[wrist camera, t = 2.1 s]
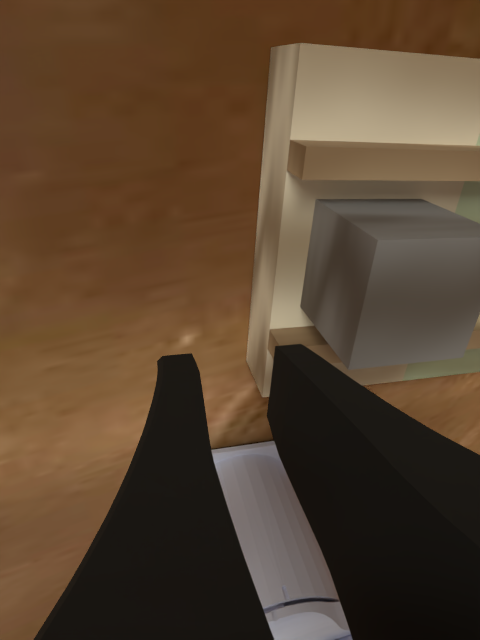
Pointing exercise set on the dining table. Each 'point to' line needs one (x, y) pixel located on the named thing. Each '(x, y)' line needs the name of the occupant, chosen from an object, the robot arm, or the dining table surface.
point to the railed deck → (355, 175)
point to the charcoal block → (392, 280)
